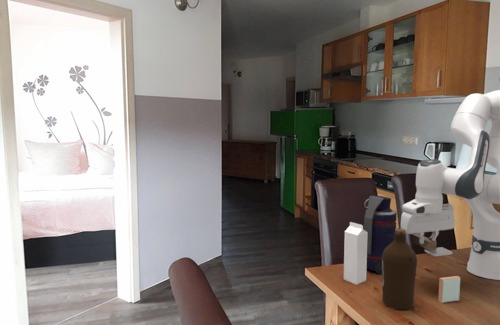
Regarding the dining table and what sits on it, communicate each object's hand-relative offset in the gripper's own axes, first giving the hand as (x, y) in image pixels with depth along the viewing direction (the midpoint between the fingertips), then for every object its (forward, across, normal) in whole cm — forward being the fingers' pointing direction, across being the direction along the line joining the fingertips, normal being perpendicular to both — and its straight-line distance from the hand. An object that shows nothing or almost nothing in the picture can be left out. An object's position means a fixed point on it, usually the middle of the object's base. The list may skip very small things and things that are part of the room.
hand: (427, 242), depth 136 cm
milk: (+16, +23, -11) cm, 30 cm away
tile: (+16, +1, +12) cm, 20 cm away
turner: (+2, 0, +1) cm, 2 cm away
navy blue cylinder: (+16, +9, -18) cm, 26 cm away
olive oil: (+16, +18, +9) cm, 26 cm away
